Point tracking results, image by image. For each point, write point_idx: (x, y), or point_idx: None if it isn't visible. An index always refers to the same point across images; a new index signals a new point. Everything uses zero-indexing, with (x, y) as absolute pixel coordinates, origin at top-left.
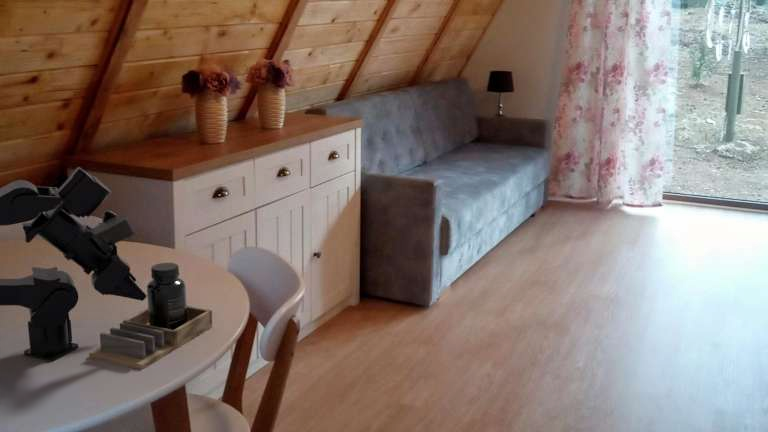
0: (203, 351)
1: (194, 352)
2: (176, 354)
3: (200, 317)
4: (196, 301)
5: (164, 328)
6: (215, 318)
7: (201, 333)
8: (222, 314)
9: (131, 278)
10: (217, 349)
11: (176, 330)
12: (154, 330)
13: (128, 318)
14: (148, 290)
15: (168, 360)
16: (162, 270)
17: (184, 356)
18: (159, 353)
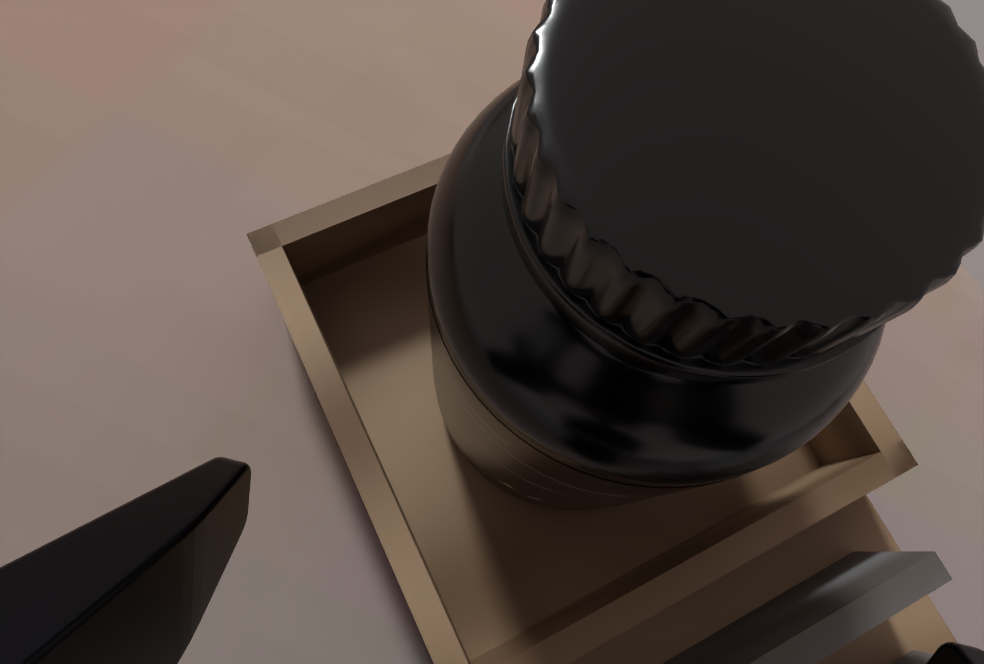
0: (943, 355)
1: (933, 404)
2: (911, 509)
3: None
4: (181, 6)
5: (818, 496)
6: (516, 63)
7: None
8: (485, 6)
9: (220, 533)
10: (953, 279)
11: (899, 439)
12: (889, 610)
13: (434, 651)
14: (669, 484)
15: (977, 596)
16: (969, 223)
17: (963, 482)
18: (939, 631)
